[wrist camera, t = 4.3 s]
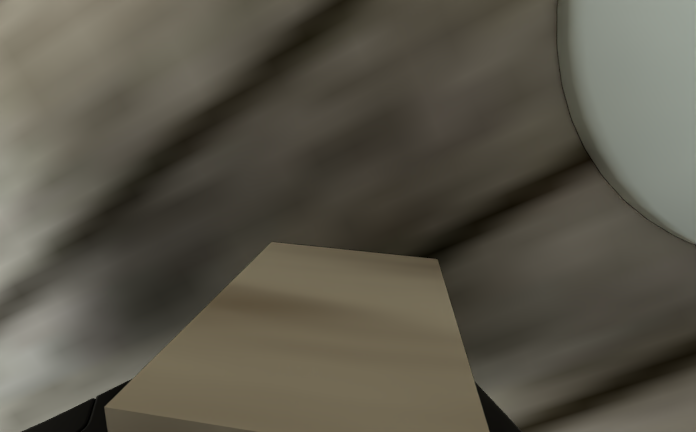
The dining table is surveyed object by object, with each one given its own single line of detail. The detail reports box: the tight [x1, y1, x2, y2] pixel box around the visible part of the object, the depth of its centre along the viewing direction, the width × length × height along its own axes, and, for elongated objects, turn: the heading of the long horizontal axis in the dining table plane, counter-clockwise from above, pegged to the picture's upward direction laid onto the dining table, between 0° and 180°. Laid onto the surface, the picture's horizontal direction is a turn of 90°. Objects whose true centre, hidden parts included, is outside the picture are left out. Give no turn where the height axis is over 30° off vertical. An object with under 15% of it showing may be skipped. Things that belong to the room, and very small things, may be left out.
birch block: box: [104, 242, 489, 432], centre depth 7 cm, size 4×4×6 cm
